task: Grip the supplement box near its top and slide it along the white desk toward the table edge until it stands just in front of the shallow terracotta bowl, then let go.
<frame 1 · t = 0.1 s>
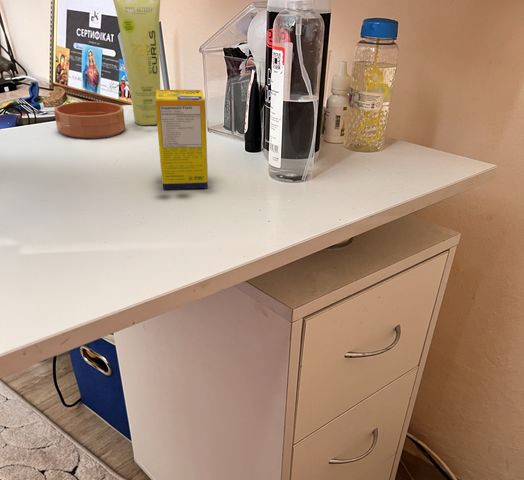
tube: (147, 123, 96), on the table
shallow terracotta bowl: (92, 130, 90), on the table
supplement box: (184, 183, 72), on the table
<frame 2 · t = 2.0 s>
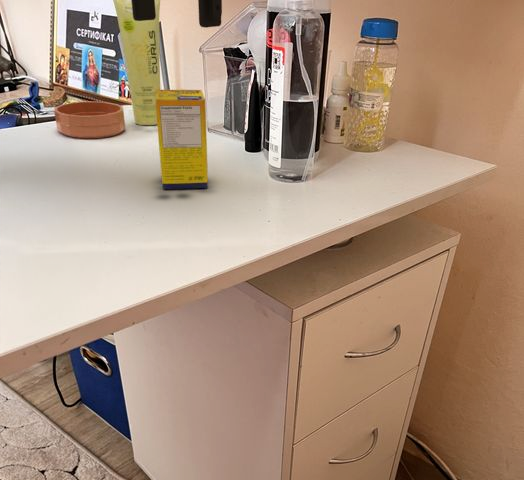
hand: (176, 23, 60), 18 cm above the table, tool pointing down, fingers open, 9 cm apart
nothing on the table moved.
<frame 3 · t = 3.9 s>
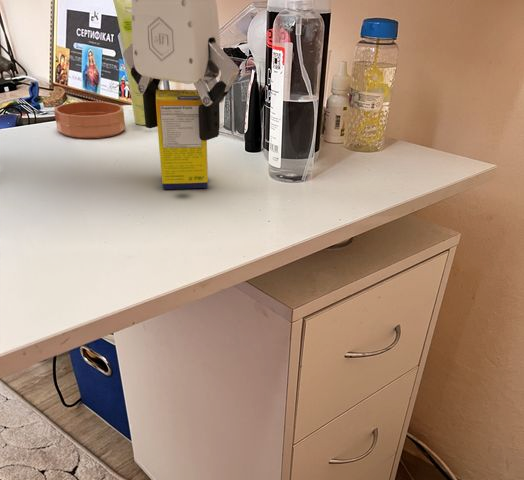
hand: (181, 131, 68), 6 cm above the table, tool pointing down, fingers closed on supplement box, 8 cm apart
supplement box: (184, 183, 72), on the table, touching gripper
everything else where it was.
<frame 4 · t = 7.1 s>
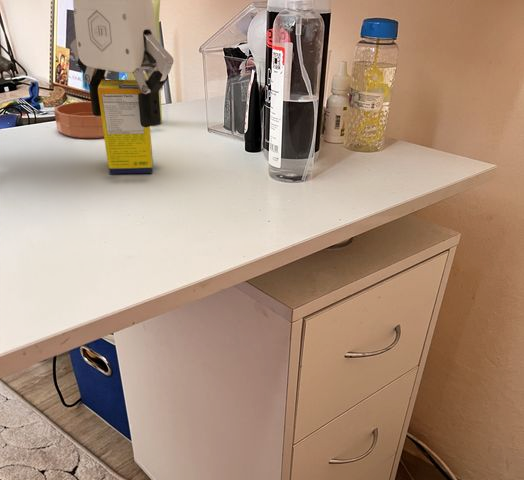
hand: (126, 119, 72), 6 cm above the table, tool pointing down, fingers closed on supplement box, 8 cm apart
supplement box: (131, 169, 76), on the table, touching gripper
everything else where it was.
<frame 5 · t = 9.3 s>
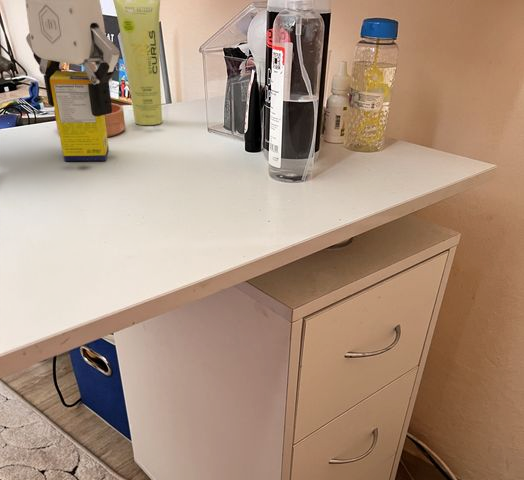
hand: (80, 108, 75), 7 cm above the table, tool pointing down, fingers closed on supplement box, 8 cm apart
supplement box: (87, 157, 79), on the table, touching gripper
everything else where it was.
when the fingers open (7 cm above the table, at t = 10.6 s): supplement box stays where it is, on the table.
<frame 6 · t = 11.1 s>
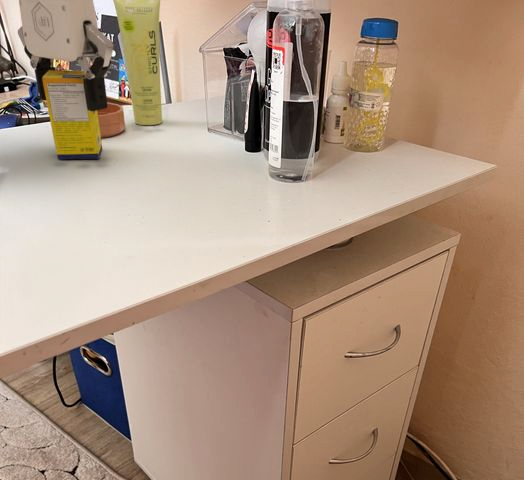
hand: (73, 103, 76), 7 cm above the table, tool pointing down, fingers open, 9 cm apart
supplement box: (80, 155, 80), on the table
everything else where it was.
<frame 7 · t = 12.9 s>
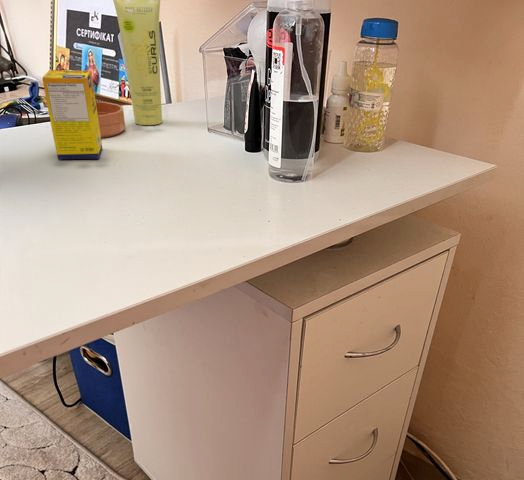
nothing on the table moved.
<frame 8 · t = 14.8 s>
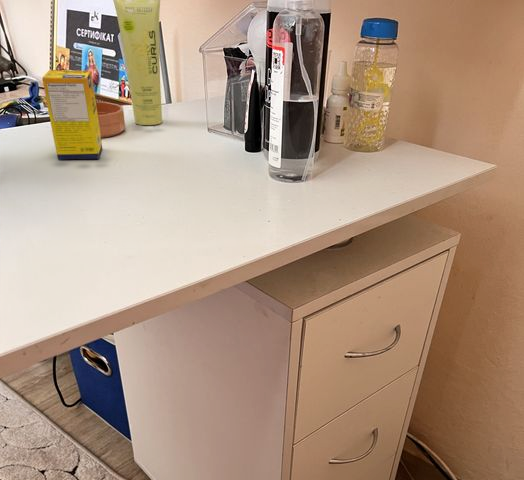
nothing on the table moved.
at the end: supplement box inside the target area on the table beside the shallow terracotta bowl (0.5 cm from its centre), on the table; supplement box tilted 0°; supplement box moved 19.8 cm from its start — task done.
